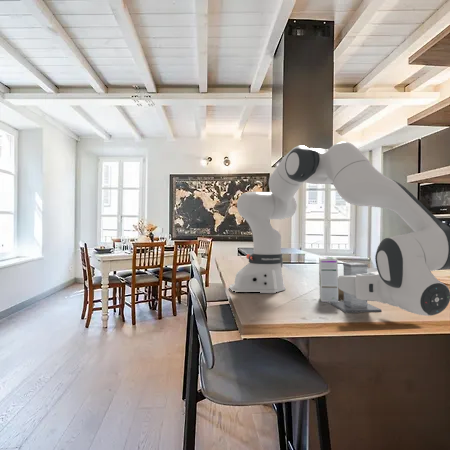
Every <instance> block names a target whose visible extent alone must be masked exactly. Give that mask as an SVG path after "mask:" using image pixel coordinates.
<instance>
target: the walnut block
mask: <svg viewBox="0 0 450 450" xmlns="http://www.w3.org/2000/svg"><path fill="white" fill-rule="evenodd" d="M338 300H340V301H344V291H342V290H340V289H339V288H338Z"/></svg>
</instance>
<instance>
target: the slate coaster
mask: <svg viewBox="0 0 450 450" xmlns="http://www.w3.org/2000/svg"><path fill="white" fill-rule="evenodd" d="M329 304H330V305H331V306H333V307H335V308H336V309H339V310H340V311H342V312H343V313H346V314H347V313H350V314H351V313H374V312H375V313H377V312H378V313H379V312H382V309H381V308H379V307H377V306H374V305H372V304H370V303H368V302H367V308H350V307H348V306H346V305H344V300H340V301H338V302H329Z"/></svg>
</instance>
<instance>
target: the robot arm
mask: <svg viewBox="0 0 450 450" xmlns="http://www.w3.org/2000/svg"><path fill="white" fill-rule="evenodd" d="M304 183H306V184H313V185H333V186H334V189H335V190H336V192H337V193H338V195H339V196H340V197H341V198H342V199H343V200H344V202H347V203H348V204H350V205H354V206H358V207H374V208H379V209H380V208H381V209H387V210H389V211H392V212H394V213H395V214H397V215H398V216H399V218H401V220H403V221H404V223H406V225H407V226H408V227H409V228H410V229H411V230H412V232H408V233H402V234H397V235H394V236H390V237H386V238H383V239H382V240H381V241H380V242H379V243H378V246H377V248H376V252H375V255H374V256H375V258H374V259H375V260H374V261H375V267H376V271H372V272H367V273H364V274H357V275H350V276H344V275H338V288H339V289H340V290H342V291H344V292H346V293H348V294H351V295H355V296H356V298H357V299H359V300H366V301H367V302H368V301H369V302H378V303H382V304H387V305H389V306H393V307H396V308H399V309H401V310H402V311H403V310H404V311H406V312H408V313H411V314H415V315H419V316H426V317H427V316H428V317H429V316H430V317H431V316H435V315H438V314H440V313H442V312H443V311H444V310H446V308H447V307H448V306H449V304H450V289H449V287H448V286H447V285H446V284H445V283H444V282H442V281H440V279H438V278H437V277H435V275H434V274H433V273H432V272H433V271H441V270H442V271H443V270H449V269H450V226H448V225H447V224H446V223H444V222H442V221H441V220H440V219H439V218H438V217H436V216H435V215H434V214H433V213H432V211H430V210H429V209H428V208H427V207H426V206H425V205H424V204H423V203H422V202H421V201H420V200H419V199H418V198H417V197H416V196H415V195H413V193H412V192H411V191H410V190H408V189H407V188H406V187H405V186H404V185H402V184H401V183H400V182H397V181H396V180H392V179H391V178H390V177H388V176H386V175H385V174H383V173H381V172H380V171H379V170H378V169H376V168H375V167H374V165H373V164H372V163H371V162H370V160H369V159H368V157H367V156H366V155H364V153H363V152H362V151H361V150H360V149H359V148H358V147H357V146H355V145H354V144H353V143H350V142H348V141H340V142H337V143H335V144H333V145H331V146H330V147H329V148H327V149H326V148H315V147H314V148H313V147H310V148H309V147H307V146H305V145H297V146H295V147H293V148H292V149H290V151H289V152H287V154H286V155H284V157H283V158H282V159H281V161H280V162H279V164H278V165H277V166H276V167H275V169H274V171H273V173H271V175H270V176H269V178H268V188H269V190H270V191H248V192H243V193H242V194H241V195H240V196H239V197H238V199H237V202H236V209H237V212H238V214H239V215H240V216H241V218H243V219H244V220H245V221H246V223H247V224H248V226H249V228H250V230H251V233H252V241H253V244H252V245H253V253H251V254H249V253H247V254H246V255H245V258H246V259H247V260H248V263H247V264H246V265H244V267H242V268H241V269H239V270H238V271H237V272H236V275H235V277H234V283H232V284H229V285H228V286H229V287H228V289H229V288H230V289H231V290H233V291H236V292H260V293H259V294H276V292H277V293H278V292H283V291H285V290H286V286H285V283H284V275H283V269H282V268H283V266H284V264H283V260H284V258H283V257H284V256H283V254H282V235H281V233H280V231H278V230H277V229H275V228H273V226H272V224H271V222H270V220H284V219H285V220H286V219H288V218H292V217H293V216H294V215H295V213H296V211H297V201H296V199H295V197H294V196H295V194H297V192H298V190H299V189H300V188H301V187H302V185H303V184H304ZM230 289H229V290H230ZM231 290H230V291H231ZM233 291H232V292H233ZM236 292H235V293H236Z"/></svg>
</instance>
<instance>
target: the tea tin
mask: <svg viewBox="0 0 450 450" xmlns="http://www.w3.org/2000/svg"><path fill="white" fill-rule="evenodd" d="M342 265H343V276H350V275H357V274H364V273H368V264H367V263H362V262H342ZM343 301H344V305H346V306H348V307H350V308H367V303H368V301H366V300H359V299H357V298H356V296H355V295H351V294H348V293H346V292H344V300H343Z"/></svg>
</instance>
